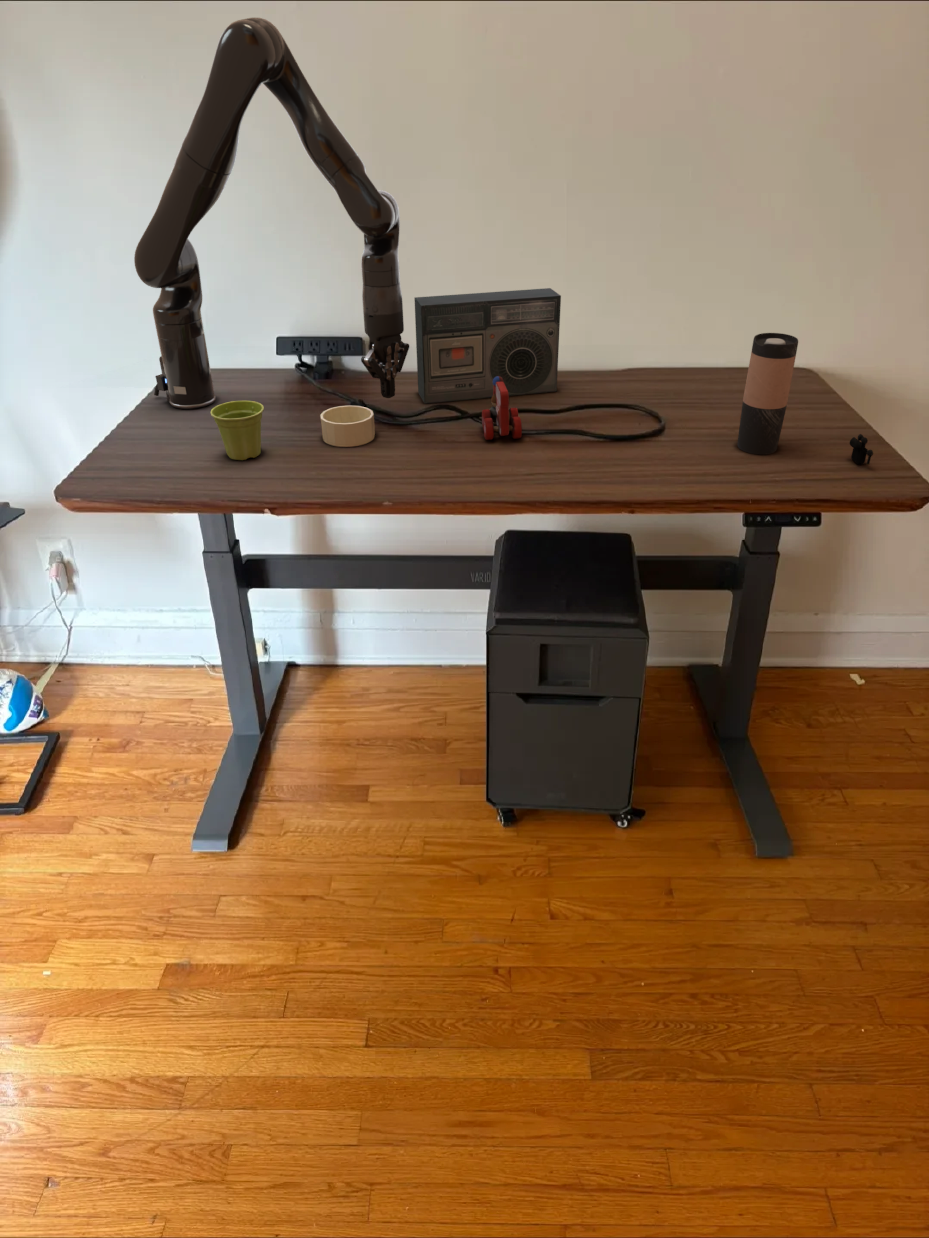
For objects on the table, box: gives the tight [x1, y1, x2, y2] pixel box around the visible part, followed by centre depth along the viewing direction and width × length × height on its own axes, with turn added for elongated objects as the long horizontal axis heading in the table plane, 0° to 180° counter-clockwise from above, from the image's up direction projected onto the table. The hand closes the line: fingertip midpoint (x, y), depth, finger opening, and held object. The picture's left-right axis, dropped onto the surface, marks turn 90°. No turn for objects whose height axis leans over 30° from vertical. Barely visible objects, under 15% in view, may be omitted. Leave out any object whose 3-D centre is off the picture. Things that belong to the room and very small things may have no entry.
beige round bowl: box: [319, 405, 376, 448], centre depth 172 cm, size 10×10×4 cm
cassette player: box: [414, 287, 562, 405], centre depth 188 cm, size 29×7×20 cm, turn 104°
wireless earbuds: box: [849, 433, 874, 466], centre depth 158 cm, size 7×2×5 cm, turn 8°
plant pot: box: [209, 400, 265, 461], centre depth 164 cm, size 9×9×9 cm
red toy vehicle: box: [481, 376, 523, 441], centre depth 171 cm, size 7×12×10 cm, turn 4°
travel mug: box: [736, 332, 799, 455], centre depth 161 cm, size 8×8×20 cm
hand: (388, 396), depth 179 cm, fingers closed
